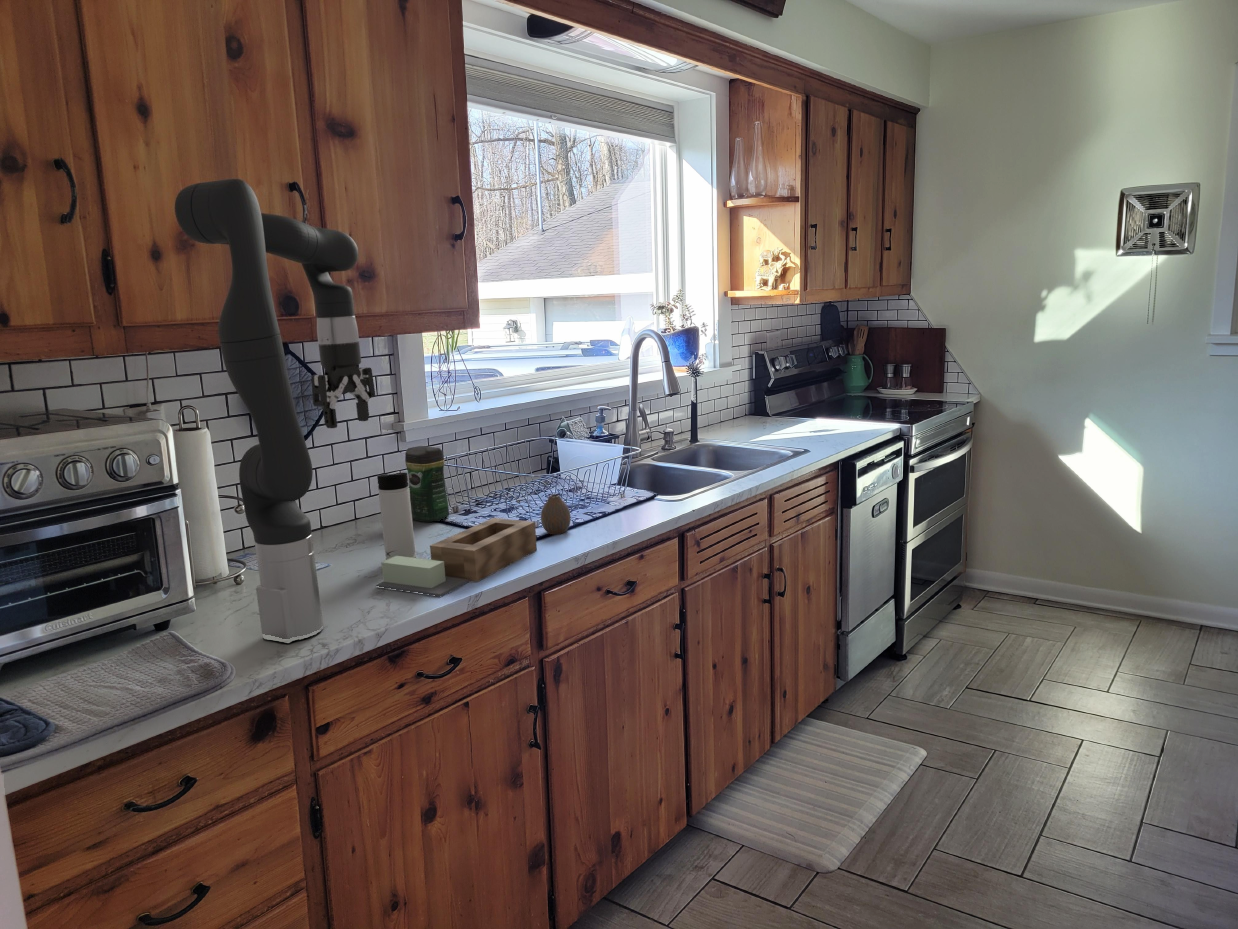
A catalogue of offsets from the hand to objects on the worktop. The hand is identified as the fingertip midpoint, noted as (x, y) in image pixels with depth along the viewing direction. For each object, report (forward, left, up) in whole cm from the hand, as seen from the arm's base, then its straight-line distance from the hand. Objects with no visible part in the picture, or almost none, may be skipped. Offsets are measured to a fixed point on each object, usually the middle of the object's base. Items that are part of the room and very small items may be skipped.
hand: (348, 424), depth 179 cm
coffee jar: (+44, +19, -32) cm, 58 cm away
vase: (+43, -19, -32) cm, 57 cm away
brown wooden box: (+18, -17, -32) cm, 41 cm away
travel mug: (+12, +1, -32) cm, 34 cm away
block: (+2, -11, -32) cm, 33 cm away
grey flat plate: (+2, -13, -32) cm, 35 cm away
